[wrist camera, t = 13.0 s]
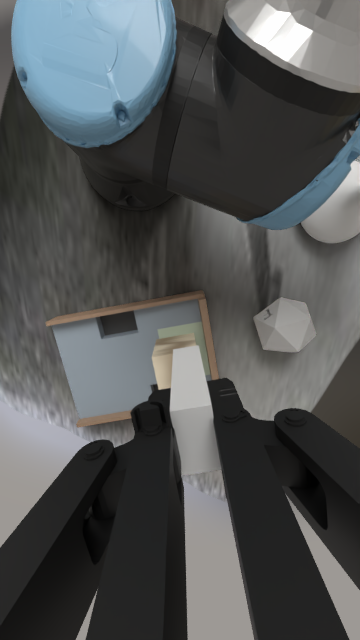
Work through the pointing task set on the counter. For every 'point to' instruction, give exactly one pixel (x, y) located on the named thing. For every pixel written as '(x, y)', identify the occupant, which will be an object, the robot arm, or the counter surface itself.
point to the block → (168, 356)
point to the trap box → (126, 351)
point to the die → (285, 326)
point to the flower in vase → (338, 212)
